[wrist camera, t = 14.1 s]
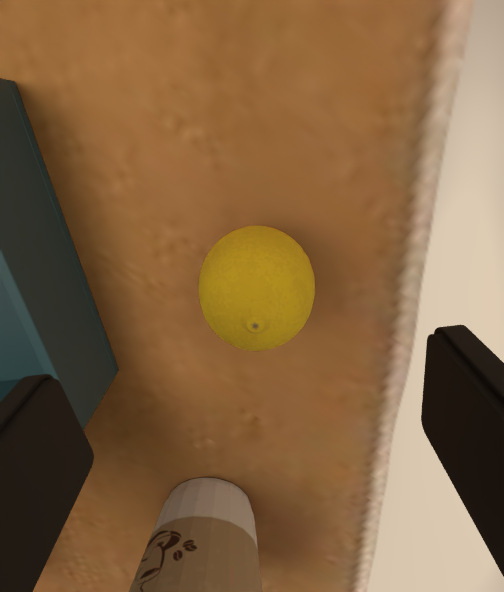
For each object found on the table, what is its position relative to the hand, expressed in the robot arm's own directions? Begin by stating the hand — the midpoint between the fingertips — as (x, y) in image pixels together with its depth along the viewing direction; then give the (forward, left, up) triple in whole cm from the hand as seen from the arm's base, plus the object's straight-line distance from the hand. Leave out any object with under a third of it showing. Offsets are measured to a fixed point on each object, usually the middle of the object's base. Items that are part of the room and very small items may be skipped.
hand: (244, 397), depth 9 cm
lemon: (+1, 0, -13) cm, 13 cm away
